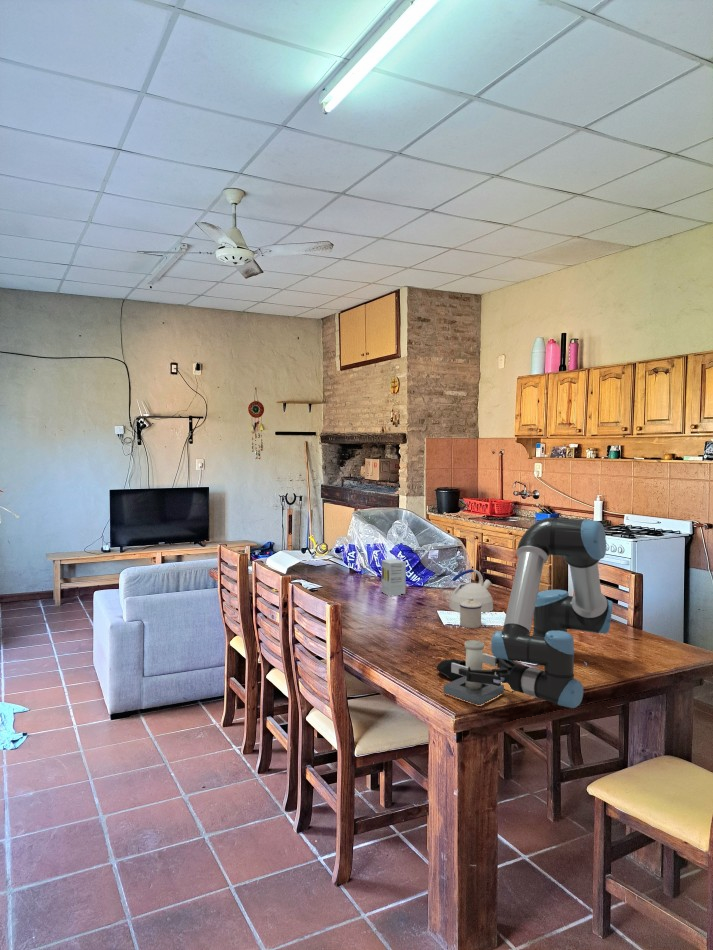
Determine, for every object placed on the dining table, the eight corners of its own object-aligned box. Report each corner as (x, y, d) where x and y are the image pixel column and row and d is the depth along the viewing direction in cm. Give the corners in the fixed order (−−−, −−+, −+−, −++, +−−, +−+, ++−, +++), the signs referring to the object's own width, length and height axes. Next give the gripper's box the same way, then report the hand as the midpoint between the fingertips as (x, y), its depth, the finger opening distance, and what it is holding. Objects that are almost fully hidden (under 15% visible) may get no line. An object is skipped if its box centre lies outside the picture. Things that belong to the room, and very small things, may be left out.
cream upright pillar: (471, 689, 200) (472, 639, 199) (487, 695, 196) (487, 643, 195) (460, 694, 196) (460, 643, 195) (476, 700, 192) (476, 647, 191)
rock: (460, 695, 211) (433, 684, 210) (461, 670, 219) (435, 659, 217) (475, 681, 205) (447, 669, 204) (475, 656, 213) (449, 644, 212)
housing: (468, 683, 205) (468, 674, 205) (503, 695, 196) (504, 685, 196) (443, 694, 196) (443, 685, 196) (479, 707, 187) (479, 697, 187)
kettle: (503, 611, 292) (503, 571, 291) (463, 615, 285) (463, 575, 284) (478, 600, 311) (479, 563, 310) (440, 604, 303) (441, 566, 302)
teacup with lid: (485, 627, 266) (485, 599, 266) (465, 629, 264) (465, 601, 263) (472, 619, 278) (473, 593, 277) (453, 621, 276) (453, 594, 275)
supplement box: (380, 592, 327) (381, 559, 326) (396, 590, 330) (397, 558, 329) (389, 596, 318) (389, 563, 317) (406, 595, 322) (406, 561, 321)
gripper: (502, 705, 174) (440, 684, 189) (548, 681, 192) (488, 663, 207) (503, 678, 174) (440, 659, 189) (549, 656, 192) (488, 640, 207)
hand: (465, 661), depth 198 cm, fingers open, 13 cm apart
